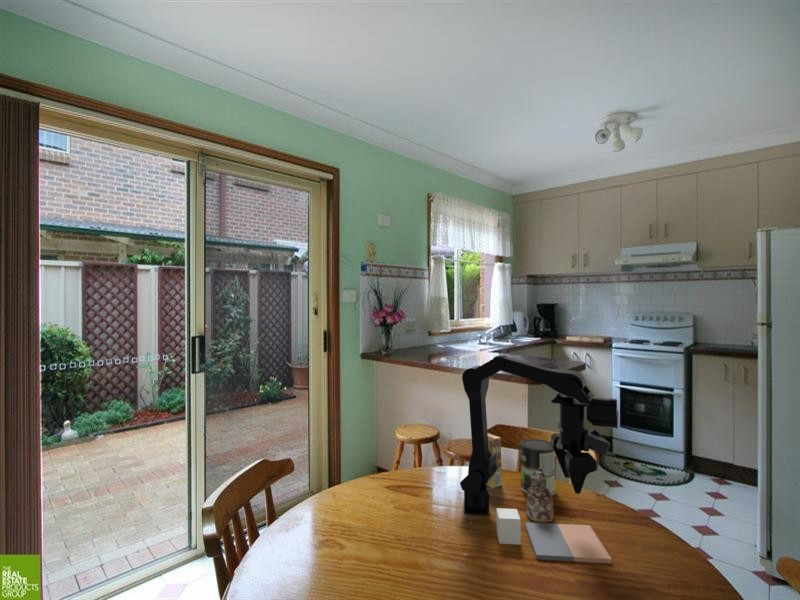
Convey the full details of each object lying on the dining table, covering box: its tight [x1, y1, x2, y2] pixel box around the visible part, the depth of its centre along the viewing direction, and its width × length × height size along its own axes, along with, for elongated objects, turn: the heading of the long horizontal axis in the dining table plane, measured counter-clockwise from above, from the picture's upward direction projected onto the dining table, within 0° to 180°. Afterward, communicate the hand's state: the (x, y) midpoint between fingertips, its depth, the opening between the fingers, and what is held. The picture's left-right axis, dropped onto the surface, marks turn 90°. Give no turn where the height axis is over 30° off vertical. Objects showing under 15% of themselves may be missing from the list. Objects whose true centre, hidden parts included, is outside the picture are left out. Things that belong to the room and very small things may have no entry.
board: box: [524, 521, 613, 565], centre depth 97 cm, size 16×14×1 cm
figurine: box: [525, 468, 555, 523], centre depth 110 cm, size 7×7×12 cm
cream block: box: [496, 507, 522, 546], centre depth 100 cm, size 5×5×6 cm
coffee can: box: [519, 438, 556, 497], centre depth 126 cm, size 10×10×14 cm
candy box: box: [486, 432, 503, 489], centre depth 132 cm, size 9×4×15 cm, turn 33°
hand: (572, 484), depth 101 cm, fingers open, 9 cm apart
